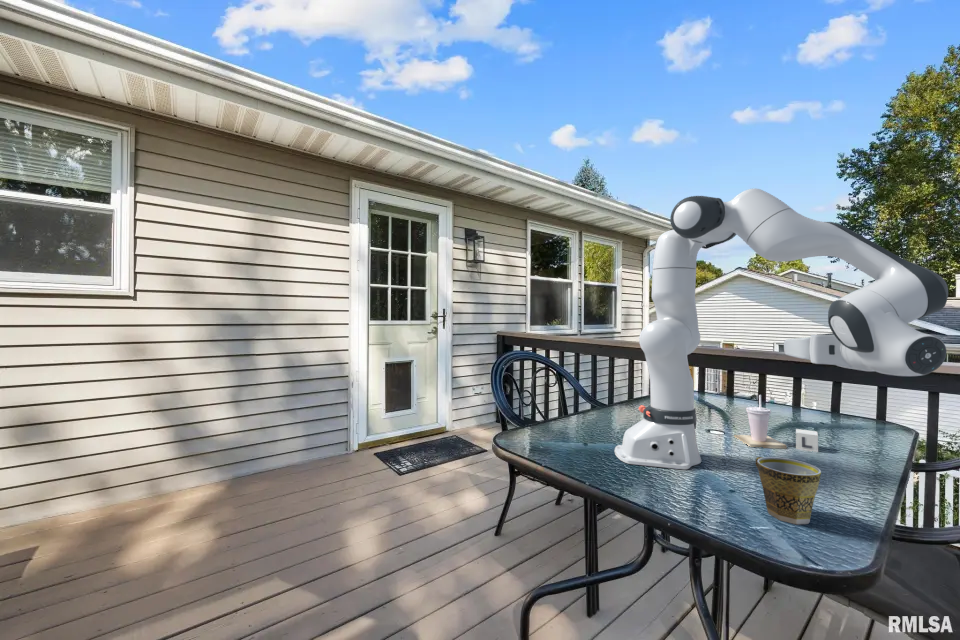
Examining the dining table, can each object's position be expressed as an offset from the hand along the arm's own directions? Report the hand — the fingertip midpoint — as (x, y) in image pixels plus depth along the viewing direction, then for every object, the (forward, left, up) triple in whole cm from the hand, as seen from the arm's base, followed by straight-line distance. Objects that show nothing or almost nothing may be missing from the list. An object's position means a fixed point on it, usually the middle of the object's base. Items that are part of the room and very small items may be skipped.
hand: (814, 345), depth 101 cm
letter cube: (+10, +20, -32) cm, 39 cm away
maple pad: (-1, +24, -32) cm, 40 cm away
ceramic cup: (-21, -24, -32) cm, 45 cm away
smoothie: (-1, +24, -31) cm, 39 cm away
